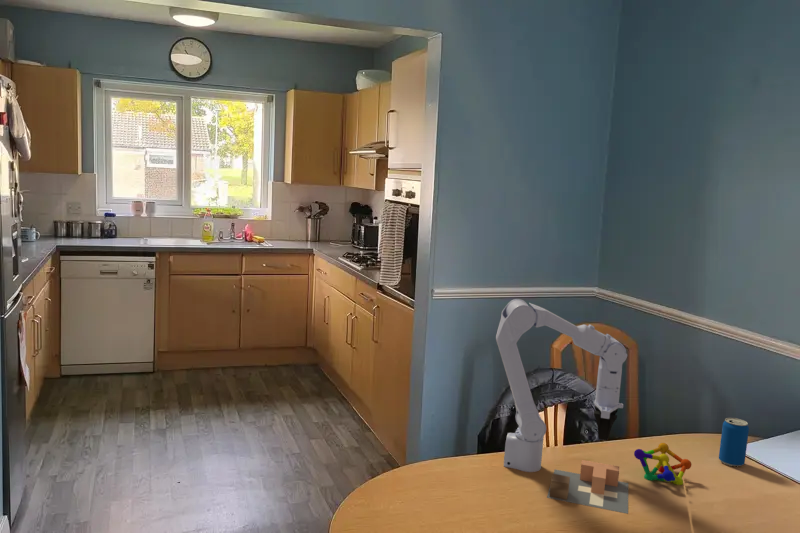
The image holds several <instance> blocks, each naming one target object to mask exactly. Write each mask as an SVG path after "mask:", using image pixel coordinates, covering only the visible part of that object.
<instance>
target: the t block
mask: <svg viewBox="0 0 800 533" xmlns="http://www.w3.org/2000/svg"><path fill="white" fill-rule="evenodd" d="M579 474H580V480H584V481H589V482H592V486H591V492H593V493H598V494H603V495H604V489H605V485H611V486H616V487H618V481H619V478H620V477H619V476H620V466H617V465H614V464H613V465H612V464H607V463H601V462H596V461H589V460H584V459H582V460H581V464H580V473H579Z"/></svg>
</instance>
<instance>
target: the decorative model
mask: <svg viewBox="0 0 800 533" xmlns="http://www.w3.org/2000/svg"><path fill="white" fill-rule="evenodd" d="M659 452H660V453H661V454H659V455H657V454H656V453H659ZM666 453H667V454H668V455H669V456H671V457H672V458H673V459H675V460H676V461H677V462H679V463H678V464H674V465H671V464H670V463H669V462H670V457H669V456H668V455H667V454H666ZM633 455H634V457H635V458H636V459H637V460H639V462H640V464H641V466H642V468H643V471H644V476H643V478H644V479H645V480H647V481H653V482H654V481H659V482H666V483H667V482H668V483H671V484H672V483H673V484H674V485H677V486H682V485H684V480H683V477H684V474H685V472H686V470H689V469H691V467H692V462H691V460H690V459H688V458H682V457H681V456H679V455H677V454H676V453H674V452H673V451H672V450H670V449H669V445H668V444H667V443H665V442H661V443H659V444H658V447H655V448H653V449H651V450H648V451H646V450H643V449H640V448H637V449H635V450H634V451H633ZM647 459H650V460H655V461H657V463H656V465H655V466H654V467H653V469H652V470H650V468H649V465H648V461H647ZM678 469H680V471H679V473H678V475H677V474H676V473H675V470H678ZM658 472H659V473H658ZM657 473H658V474H657Z"/></svg>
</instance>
